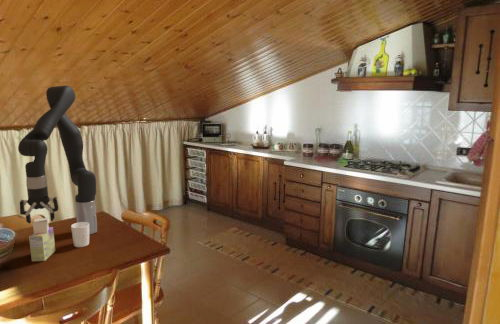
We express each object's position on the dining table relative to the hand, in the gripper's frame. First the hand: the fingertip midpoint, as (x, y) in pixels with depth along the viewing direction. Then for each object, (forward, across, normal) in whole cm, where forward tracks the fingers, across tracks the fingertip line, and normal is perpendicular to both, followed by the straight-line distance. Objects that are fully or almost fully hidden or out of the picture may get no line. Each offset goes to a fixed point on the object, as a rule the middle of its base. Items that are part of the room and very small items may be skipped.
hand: (41, 221), depth 158 cm
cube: (+4, 0, 0) cm, 5 cm away
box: (+16, 0, 0) cm, 17 cm away
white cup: (+17, -15, -8) cm, 24 cm away
